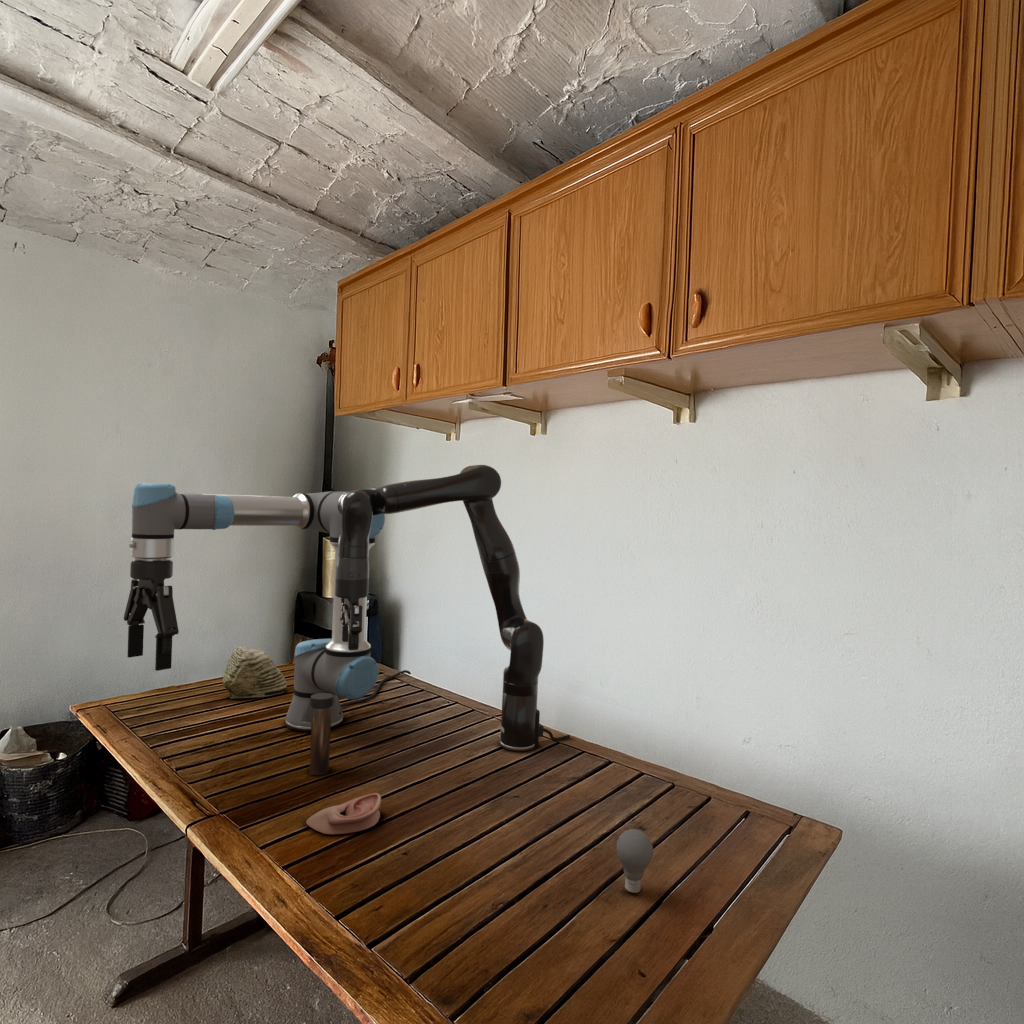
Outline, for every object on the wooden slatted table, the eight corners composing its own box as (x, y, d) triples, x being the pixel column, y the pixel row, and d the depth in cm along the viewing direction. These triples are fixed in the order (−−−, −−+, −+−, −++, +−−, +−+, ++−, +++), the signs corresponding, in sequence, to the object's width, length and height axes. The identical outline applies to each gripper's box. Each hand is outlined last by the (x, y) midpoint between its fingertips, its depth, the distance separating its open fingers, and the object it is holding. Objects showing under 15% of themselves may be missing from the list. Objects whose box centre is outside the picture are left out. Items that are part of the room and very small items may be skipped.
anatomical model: (298, 809, 120) (327, 783, 131) (297, 830, 120) (327, 802, 131) (363, 819, 117) (388, 791, 128) (362, 840, 117) (387, 811, 128)
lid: (324, 710, 143) (325, 700, 142) (305, 707, 144) (306, 697, 144) (337, 703, 147) (337, 694, 147) (318, 700, 149) (319, 691, 149)
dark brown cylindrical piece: (321, 776, 143) (324, 701, 143) (305, 773, 145) (308, 699, 144) (332, 769, 147) (335, 696, 147) (316, 766, 149) (319, 694, 148)
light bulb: (610, 879, 108) (613, 822, 108) (644, 879, 109) (647, 822, 109) (619, 902, 102) (622, 840, 102) (655, 901, 103) (658, 840, 103)
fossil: (218, 695, 195) (220, 647, 195) (278, 685, 208) (279, 640, 207) (228, 703, 189) (230, 653, 188) (289, 692, 201) (290, 645, 201)
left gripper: (108, 554, 134) (104, 654, 134) (159, 565, 118) (155, 678, 119) (146, 552, 140) (143, 648, 140) (199, 563, 124) (195, 671, 124)
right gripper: (375, 580, 142) (372, 651, 143) (362, 572, 155) (360, 638, 156) (340, 580, 139) (338, 653, 139) (331, 572, 152) (328, 639, 152)
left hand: (148, 662), depth 129 cm, fingers open, 13 cm apart
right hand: (349, 645), depth 148 cm, fingers open, 8 cm apart
